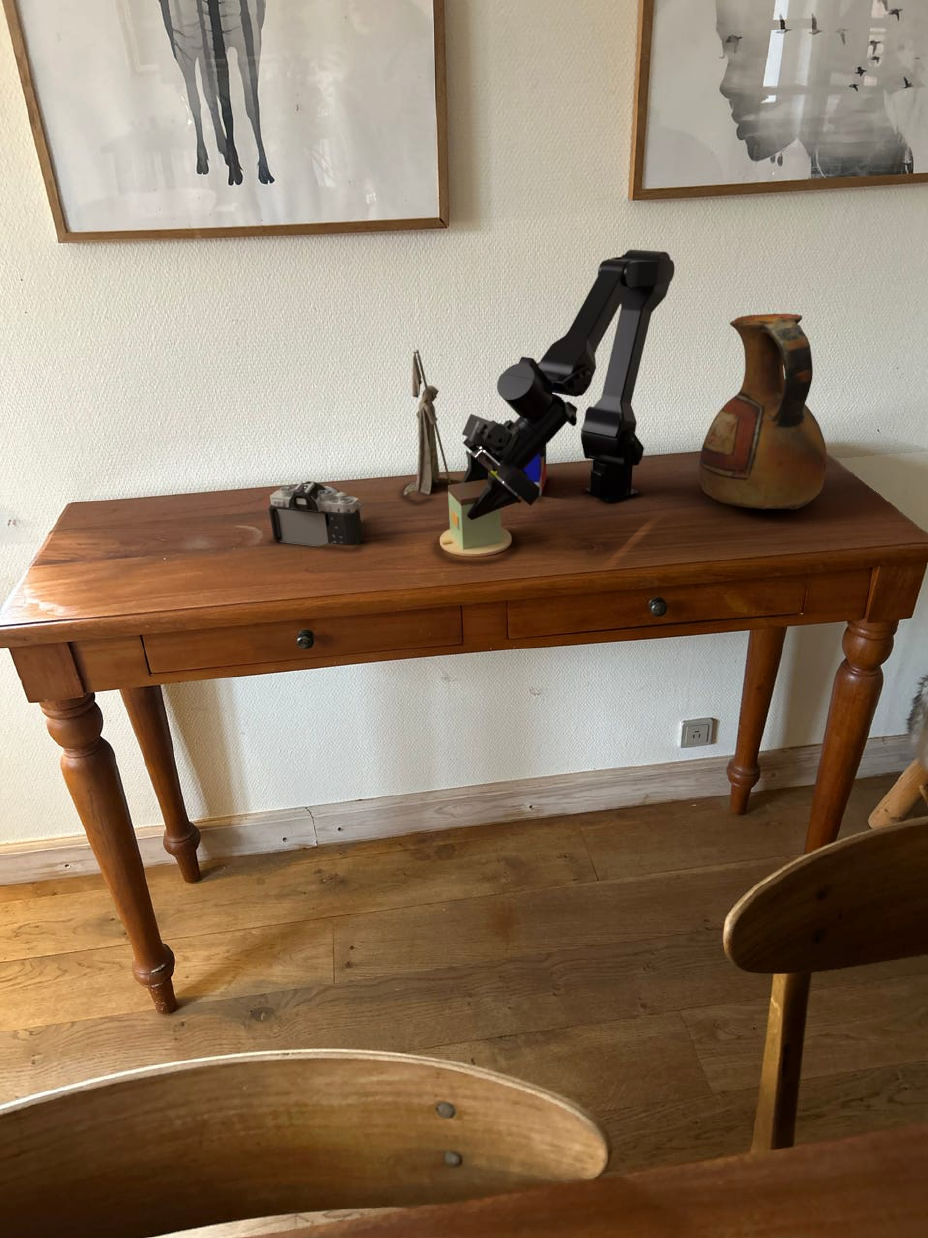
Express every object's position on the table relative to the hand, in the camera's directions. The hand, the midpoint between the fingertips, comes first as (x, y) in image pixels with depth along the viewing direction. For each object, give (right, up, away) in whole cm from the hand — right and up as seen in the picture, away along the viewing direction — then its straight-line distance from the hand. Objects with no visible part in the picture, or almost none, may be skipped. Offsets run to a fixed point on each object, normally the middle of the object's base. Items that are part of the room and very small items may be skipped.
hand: (462, 509), depth 134 cm
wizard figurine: (-6, +6, +24) cm, 25 cm away
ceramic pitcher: (+49, +3, +15) cm, 51 cm away
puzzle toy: (+9, +6, +24) cm, 26 cm away
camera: (-22, -4, +9) cm, 24 cm away
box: (+2, -4, +3) cm, 6 cm away
